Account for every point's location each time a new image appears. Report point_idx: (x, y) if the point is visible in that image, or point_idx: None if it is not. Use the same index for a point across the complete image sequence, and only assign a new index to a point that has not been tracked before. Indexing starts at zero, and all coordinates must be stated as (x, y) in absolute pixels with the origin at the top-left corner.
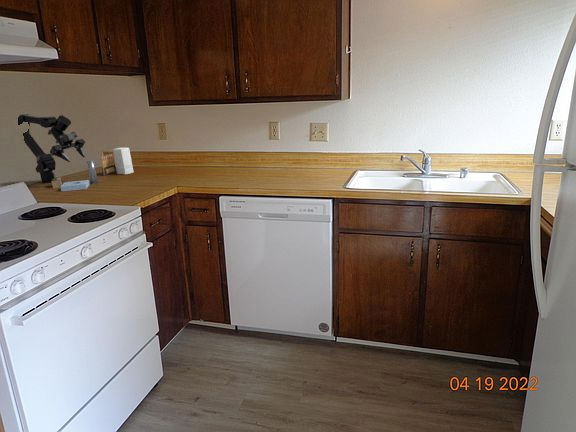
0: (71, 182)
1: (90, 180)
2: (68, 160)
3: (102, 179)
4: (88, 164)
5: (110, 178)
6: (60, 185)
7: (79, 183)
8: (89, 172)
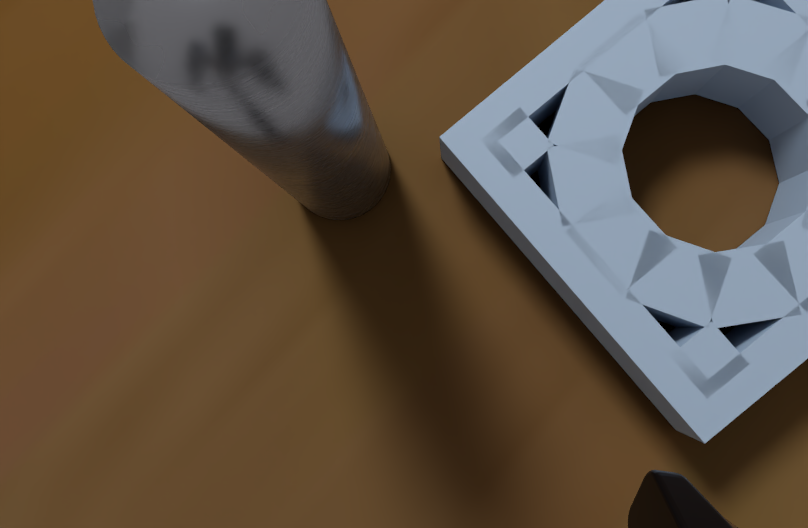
0: (686, 287)
1: (381, 175)
2: (704, 519)
3: (97, 256)
4: (331, 18)
5: (16, 180)
6: None
7: (715, 55)
8: (362, 118)
